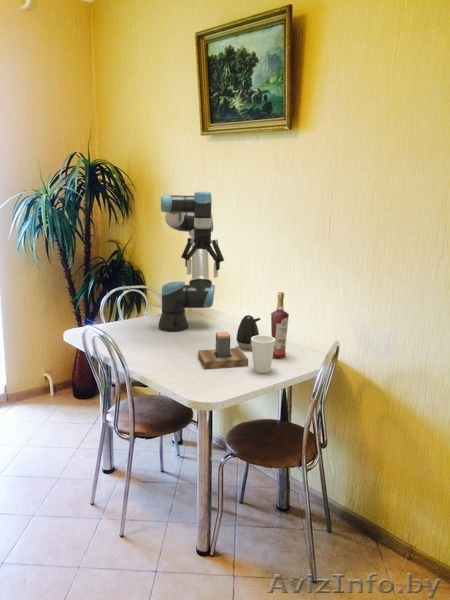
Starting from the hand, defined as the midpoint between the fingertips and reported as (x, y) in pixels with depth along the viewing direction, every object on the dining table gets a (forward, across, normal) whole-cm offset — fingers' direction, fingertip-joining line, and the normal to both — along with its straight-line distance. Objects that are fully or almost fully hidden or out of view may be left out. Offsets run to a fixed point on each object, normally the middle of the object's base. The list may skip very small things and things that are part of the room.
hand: (202, 275), depth 214 cm
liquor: (+32, +37, +1) cm, 49 cm away
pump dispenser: (+32, +21, +5) cm, 39 cm away
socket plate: (+32, +19, -16) cm, 40 cm away
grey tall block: (+32, +19, -16) cm, 40 cm away
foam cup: (+32, +37, -17) cm, 52 cm away
